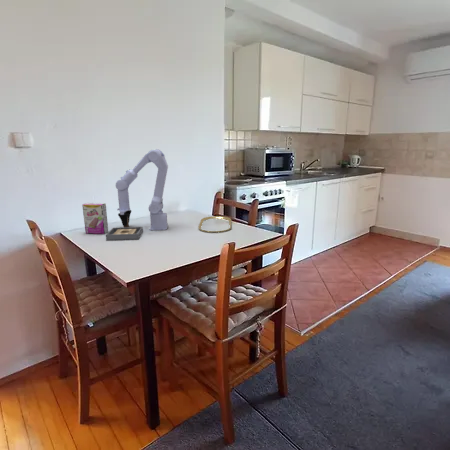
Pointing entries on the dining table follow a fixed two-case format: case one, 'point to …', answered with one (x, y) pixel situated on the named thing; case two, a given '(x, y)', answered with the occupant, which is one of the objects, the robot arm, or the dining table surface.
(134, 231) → the oak hole plate
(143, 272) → the dining table surface
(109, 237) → the charcoal tray
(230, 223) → the gold wire ring
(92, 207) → the candy bar box
